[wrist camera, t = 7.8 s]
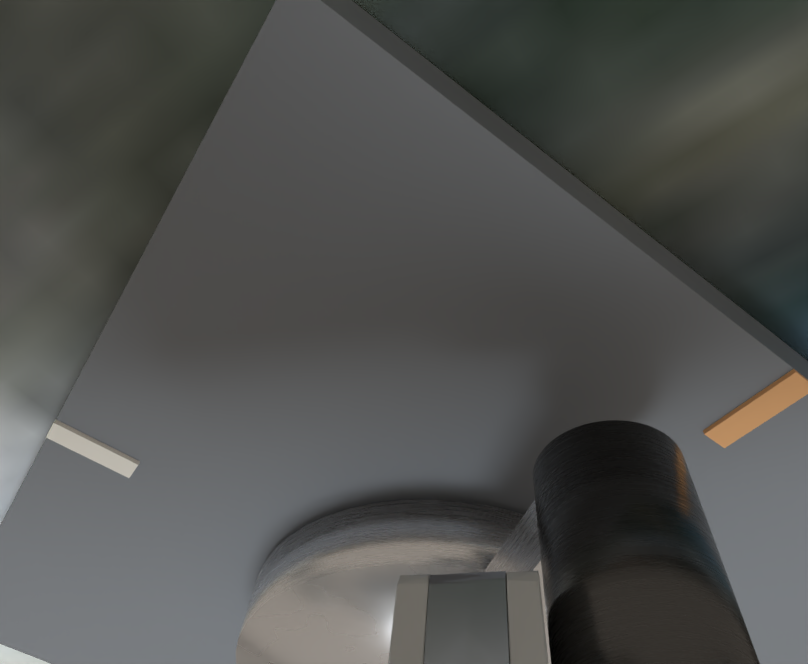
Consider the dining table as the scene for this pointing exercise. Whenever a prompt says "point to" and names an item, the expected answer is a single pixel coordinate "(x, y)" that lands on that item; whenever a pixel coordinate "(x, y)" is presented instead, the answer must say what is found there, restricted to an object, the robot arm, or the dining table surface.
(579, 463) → the dial
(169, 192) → the dining table surface
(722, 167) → the dining table surface
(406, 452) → the dial plate
